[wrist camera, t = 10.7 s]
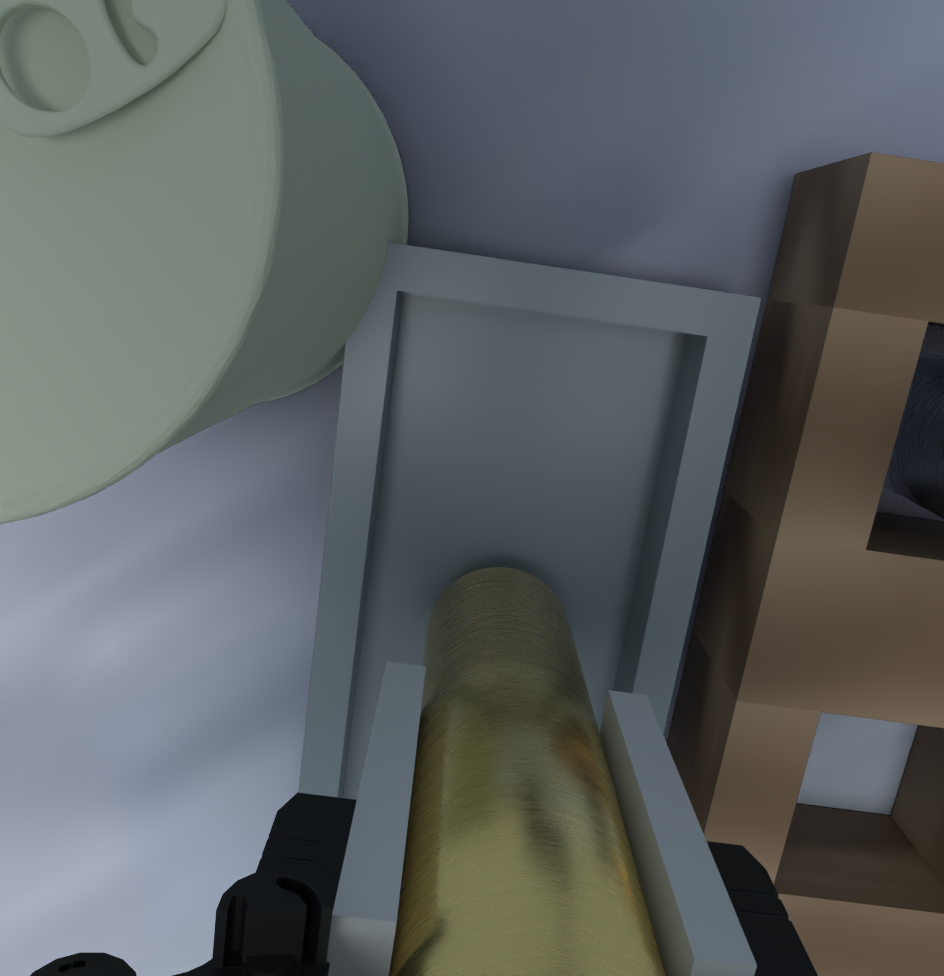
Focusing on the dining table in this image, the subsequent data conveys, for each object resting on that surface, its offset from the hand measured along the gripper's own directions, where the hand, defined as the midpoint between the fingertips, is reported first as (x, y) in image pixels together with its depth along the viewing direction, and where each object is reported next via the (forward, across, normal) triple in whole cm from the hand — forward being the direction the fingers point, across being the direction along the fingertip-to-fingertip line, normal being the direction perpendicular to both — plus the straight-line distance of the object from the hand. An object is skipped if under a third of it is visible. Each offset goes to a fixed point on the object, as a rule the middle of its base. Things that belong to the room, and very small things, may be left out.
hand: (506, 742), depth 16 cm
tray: (+7, 0, 0) cm, 7 cm away
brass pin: (+5, 0, 0) cm, 5 cm away
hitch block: (+7, +10, +2) cm, 12 cm away
